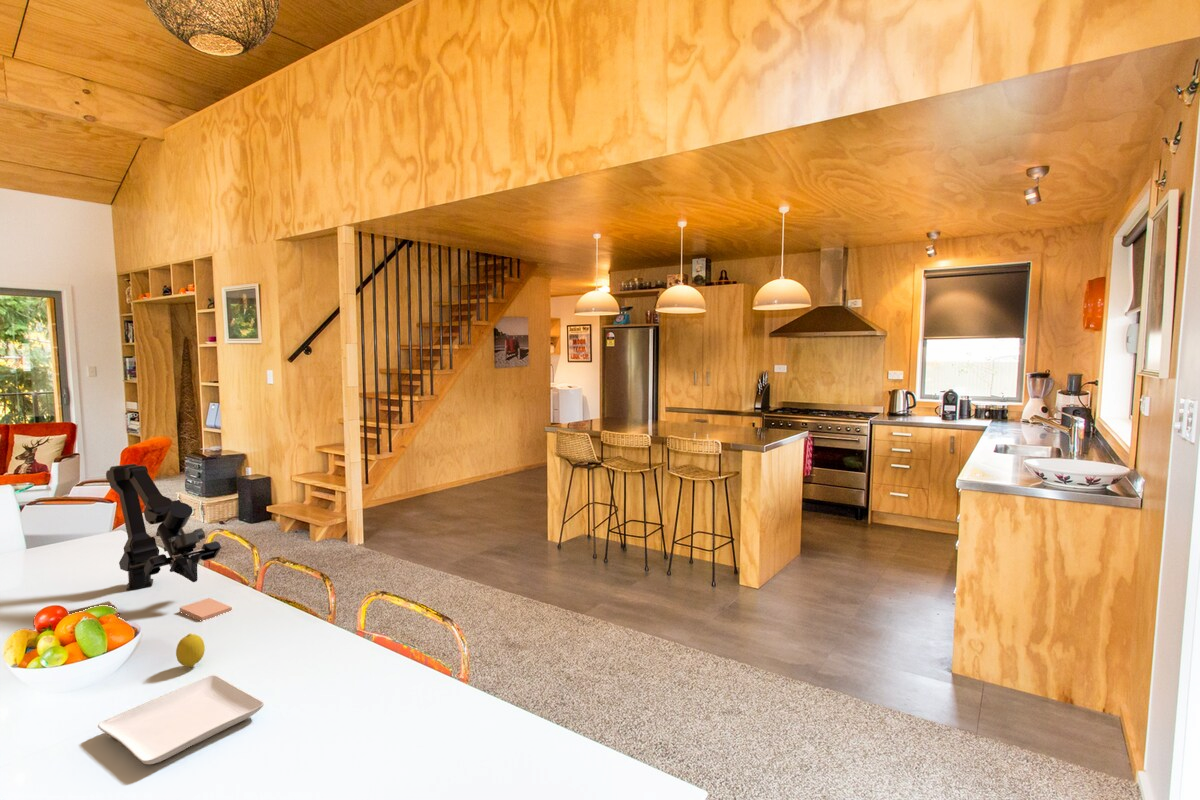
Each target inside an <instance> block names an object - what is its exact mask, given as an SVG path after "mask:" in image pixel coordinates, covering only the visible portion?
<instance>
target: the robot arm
mask: <svg viewBox="0 0 1200 800" xmlns="http://www.w3.org/2000/svg"><path fill="white" fill-rule="evenodd" d="M105 477H106V480H107V481H108V483H109V486H110V489H112V490H113V491H114V492H116V493H117V494H118V497H119V501H120V506H121V507H120V508H121V511H122V516H123V519H124V525H125V529H126V534H127V540H126V542H125V544H124V546H123V555H122V556H121V558H120V560H119V563H118V564H119V569H120V571H121V570H122V571H125V572H127V578H128V582H127V585H126V589H125V590H126V591H130V590H135V589H136V590H137V589H142V588H143V589H144V588H146V587H148V588H149V587H153V583H154V578H152V576H153V575H157V574H160V573H159V572H161V567H164V566H168V565H169V567H170V569H169V572H170V573H175V574H177V575H180V576H182V577H183V578H185V579H187V580H189V581H191V582H192V583H196V582H197V581H198V563H199V562H200V560H201V561H205V562H206V561H207V560H208V561H209V560H212V559H215V558H216V557H217V555H218V554H219V552H220V551H221V549H222V545H221V543H220V542H219V541H216V540H215V541H211V542H206V543H203V545H202V546H201V548H200V549H196V548H197V543H199V544H200V542H201V541H202V540H203V539H205V538H206V534H205V531H204V529H203V528H202V527H201V528H197V529H195V530H193V531H192V532H189V533H185V531H184V529H183V528H184V527H185V526H187V524H188V521H189V520H190V518H191V516H192V514H193V511H194V510H193V507H192V506H191V505H190V504H188V503H185V502H182V501H181V500H180V499H176V500H172V498H169V497H167V496H165V495H163V494H162V493H161V491H160V489H158V486H157V485H156V484H155V482H154V480H153V479H152V477H151V476H150V474H149V471H148V467H147V466H146V465H143V464H142V465H137V464H136V463H130V464H128V463H127V464H121V465H113V466H110V467H109V470H106V472H105ZM140 499H141V502H142V503H143V504H144V509H143V511H142V506H141V502H140ZM143 515H144V516H143ZM145 521H146V522H147V523H148V524H149V525H157V524H159V525H158V527H157V529H156V533H155V534H156V537H159V538H160V540H161V541H162V544H163V546H164V547H163V551H164V552H167V554H168V556H169V557H167V556H166V554H163V553H162V554H160V549H159V547H158V545H157V542H156V538H155V537H154V536H150V534H148V533H147V528H146V524H145ZM194 549H196V550H194Z"/></svg>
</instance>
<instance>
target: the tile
mask: <svg viewBox="0 0 1200 800" xmlns="http://www.w3.org/2000/svg"><path fill="white" fill-rule="evenodd" d="M231 610H232V611H233V607H232V606H230V605H227V604H225V603H223V602H220V601H218V600H216V599H213V598H211V597H208V598H205V599H201V600H199V601H196V602H192V603H189V604H185V605H183V606H180V607H179V613H180V612H182V613H184V614H183V615H185V614H187V615H189V616H188V617H190V616H191V617H190V618H192V617H194V618H193V619H195V618H196V619H195V620H197V619H198V620H197V621H199V620H201V621H200V622H204V621H203V620H205V621H207V620H206V619H208V620H210V618H211V619H214V618H216V617H219V616H221V615H220V614H222V615H224V614H223V613H225V614H227V613H226V612H228V613H230V612H229V611H231ZM232 611H231V612H232ZM182 613H181V614H182ZM187 615H186V616H187ZM218 615H219V616H218ZM215 616H216V617H215Z"/></svg>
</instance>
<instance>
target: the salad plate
mask: <svg viewBox="0 0 1200 800" xmlns="http://www.w3.org/2000/svg"><path fill="white" fill-rule="evenodd" d="M264 705H265V702H264V701H263V700H261V699H259V698H257V697H255V696H253V695H252V694H250V693H248V692H246V691H244V690H242V688H241V689H240V687H237V686H235V685H234V684H232V683H230V682H229V681H227V680H225V679H223V678H222V677H220V676H218V675H216V674H211V675H208V676H206V677H202V678H201V679H198V680H196V681H194V682H192V683H189V684H186V685H185V686H182V687H180V688H177V689H175V690H173V691H170V692H168V693H166V694H163V695H160V696H159V697H156V698H154V699H152V700H151V699H150V701H146V702H144V703H142V704H140V705H139V704H138V705H137V706H135V707H133V708H130V709H127V710H125V711H124V712H120V713H119V714H116V715H114V716H112V717H109V718H107V719H105V720H102V721H101V722H99V723H98V724H97V728H98V729H99V730H100V731H101V732H103V733H105V734H106V735H108V736H110V737H111V738H114V739H115V740H117V741H118V742H119V743H121V744H122V745H123V746H124V747H125V748H127V750H129V752H130V753H131V754H132V755H134V757H135V758H136V759H138V760H139V761H141V763H143V764H144V765H154V764H158V763H160V762H163V761H164V760H167V759H169V758H171V757H173V756H175V755H177V754H179V753H181V752H183V751H185V750H186V748H187V749H188V747H189V748H191V747H193V746H195V745H197V744H199V743H201V742H203V741H205V740H207V739H208V738H212V737H213V736H215V735H217V734H218V733H220V732H222V731H225V730H227V729H228V728H231V727H233V726H235V725H236V724H239V723H241V722H243V721H245V720H247V719H249V718H251V717H252V716H254V715H256V714H257V712H259V711H260V710H261V709H263V707H264ZM192 745H193V746H192ZM190 746H191V747H190Z"/></svg>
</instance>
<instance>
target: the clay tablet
mask: <svg viewBox="0 0 1200 800" xmlns="http://www.w3.org/2000/svg"><path fill="white" fill-rule="evenodd" d="M99 605H108V606H112V607H114V608H116V609H117V610H118V608H117V607H116V606H115V604H112V602H111V601H110V600H108V601H105V602H100V603H97V604H92V605H89V606H84V607H81V608H77V609H72V610H67V611H68V612H69V614H72V613H75V612H79V611H83V610H85V609H88V608H90V607H94V606H99Z"/></svg>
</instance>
